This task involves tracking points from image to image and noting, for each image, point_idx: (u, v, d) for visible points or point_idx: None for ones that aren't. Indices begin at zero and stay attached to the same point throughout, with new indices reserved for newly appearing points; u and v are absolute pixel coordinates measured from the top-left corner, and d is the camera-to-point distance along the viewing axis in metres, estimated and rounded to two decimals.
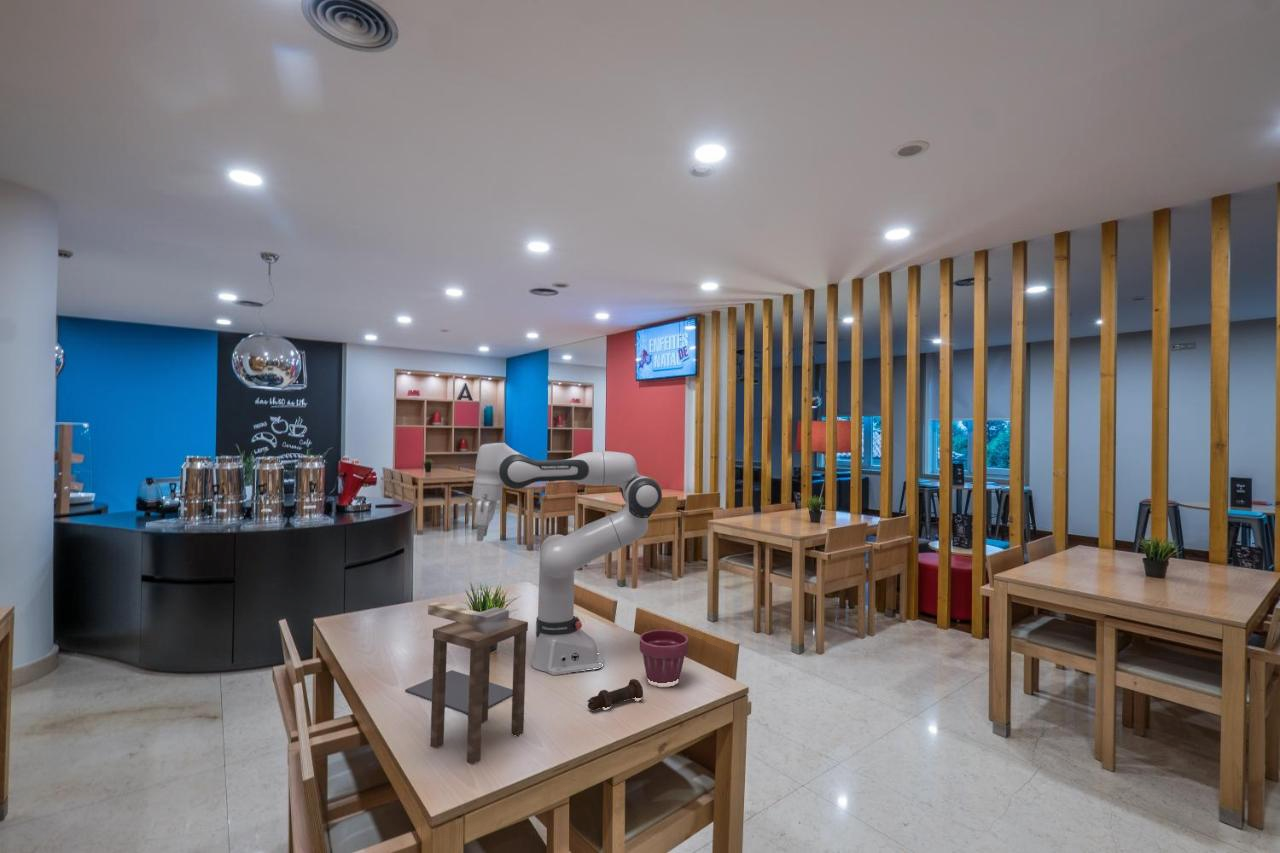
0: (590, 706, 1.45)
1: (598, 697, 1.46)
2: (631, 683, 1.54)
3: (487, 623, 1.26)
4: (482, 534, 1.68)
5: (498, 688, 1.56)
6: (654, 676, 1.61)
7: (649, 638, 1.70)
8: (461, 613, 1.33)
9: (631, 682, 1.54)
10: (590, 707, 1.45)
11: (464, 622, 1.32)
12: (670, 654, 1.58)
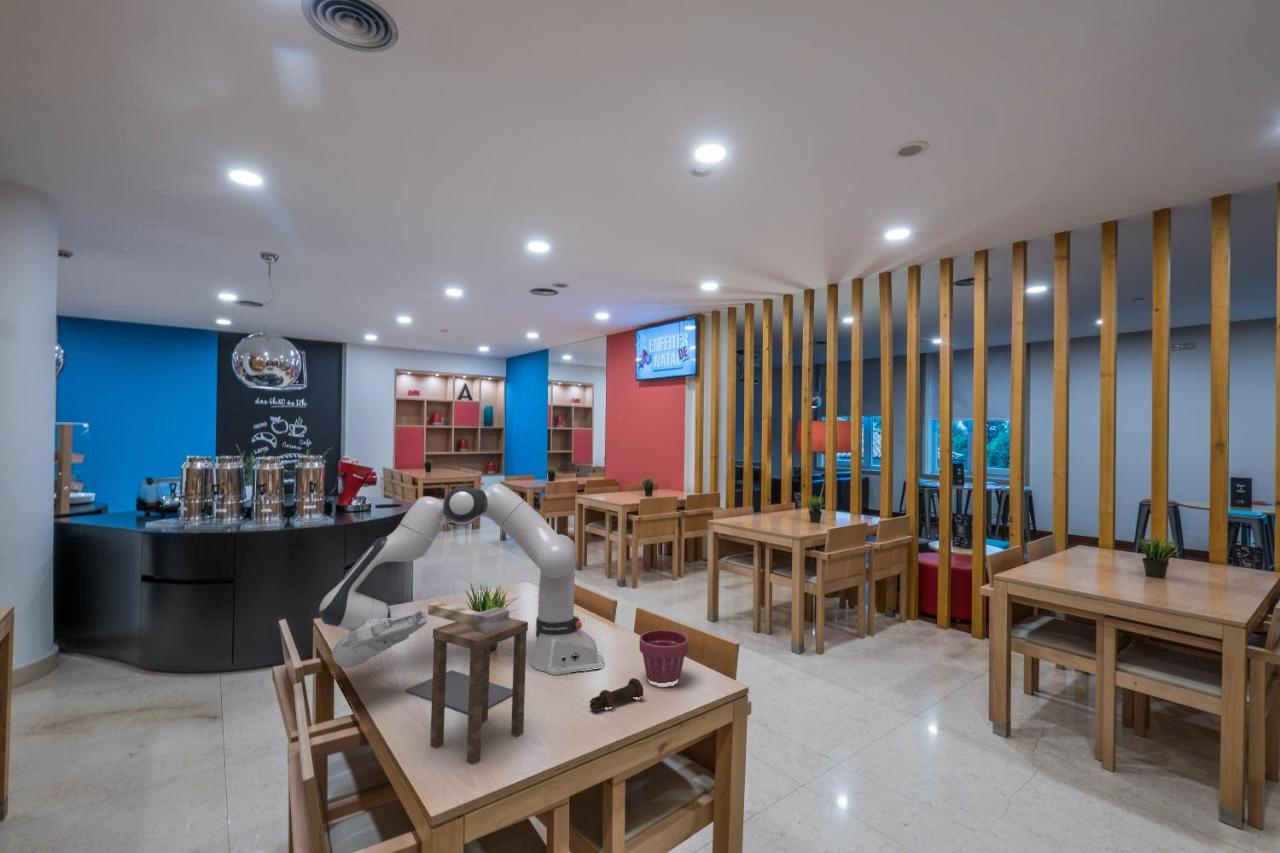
0: (592, 706, 1.45)
1: (600, 697, 1.46)
2: (631, 682, 1.54)
3: (487, 623, 1.26)
4: (380, 624, 1.41)
5: (498, 688, 1.56)
6: (654, 676, 1.61)
7: (649, 638, 1.70)
8: (461, 613, 1.33)
9: (631, 681, 1.54)
10: (592, 708, 1.45)
11: (464, 622, 1.32)
12: (670, 654, 1.58)
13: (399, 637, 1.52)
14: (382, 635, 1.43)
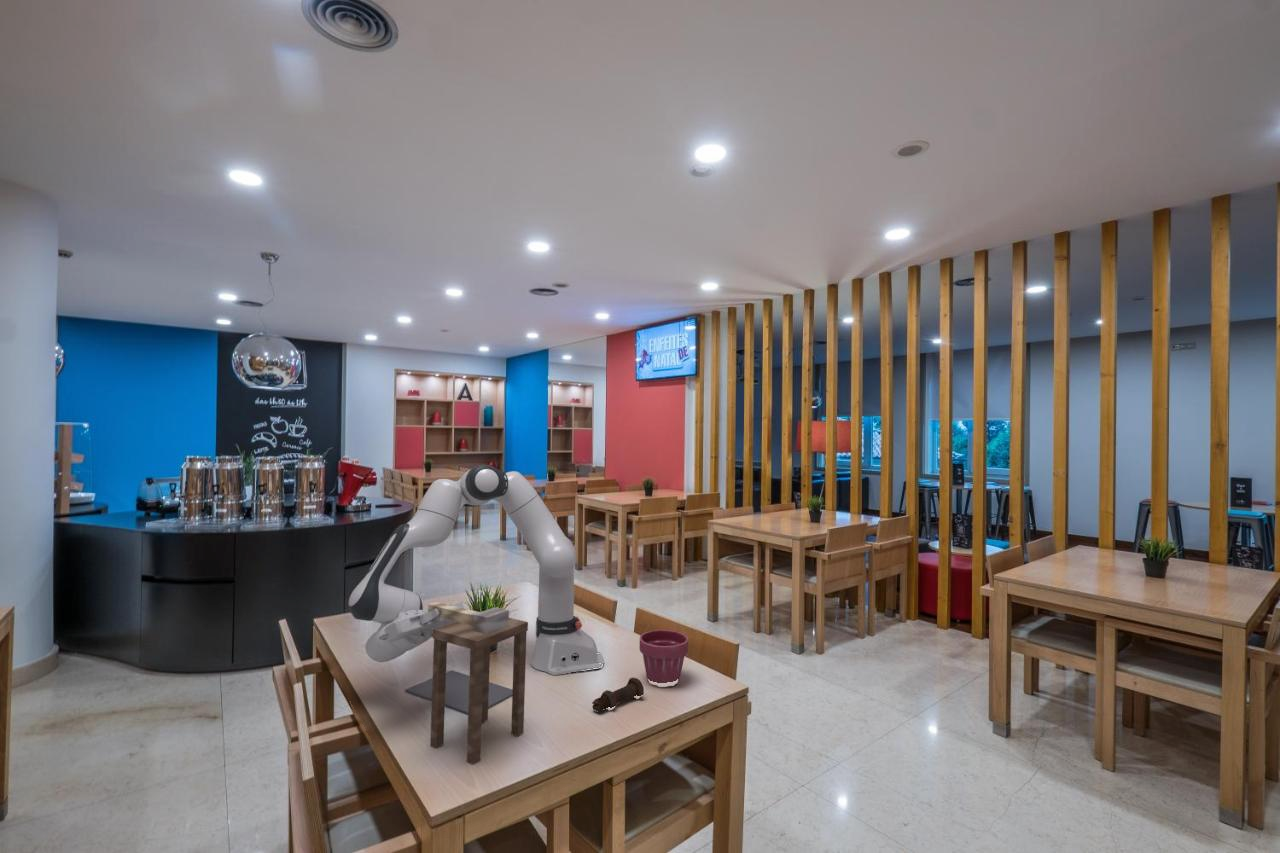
0: (596, 707, 1.44)
1: (603, 698, 1.46)
2: (631, 682, 1.54)
3: (487, 623, 1.26)
4: (429, 613, 1.36)
5: (498, 688, 1.56)
6: (654, 676, 1.61)
7: (649, 638, 1.70)
8: (461, 613, 1.33)
9: (631, 681, 1.54)
10: (596, 709, 1.44)
11: (464, 622, 1.32)
12: (670, 654, 1.58)
13: None
14: (421, 627, 1.36)
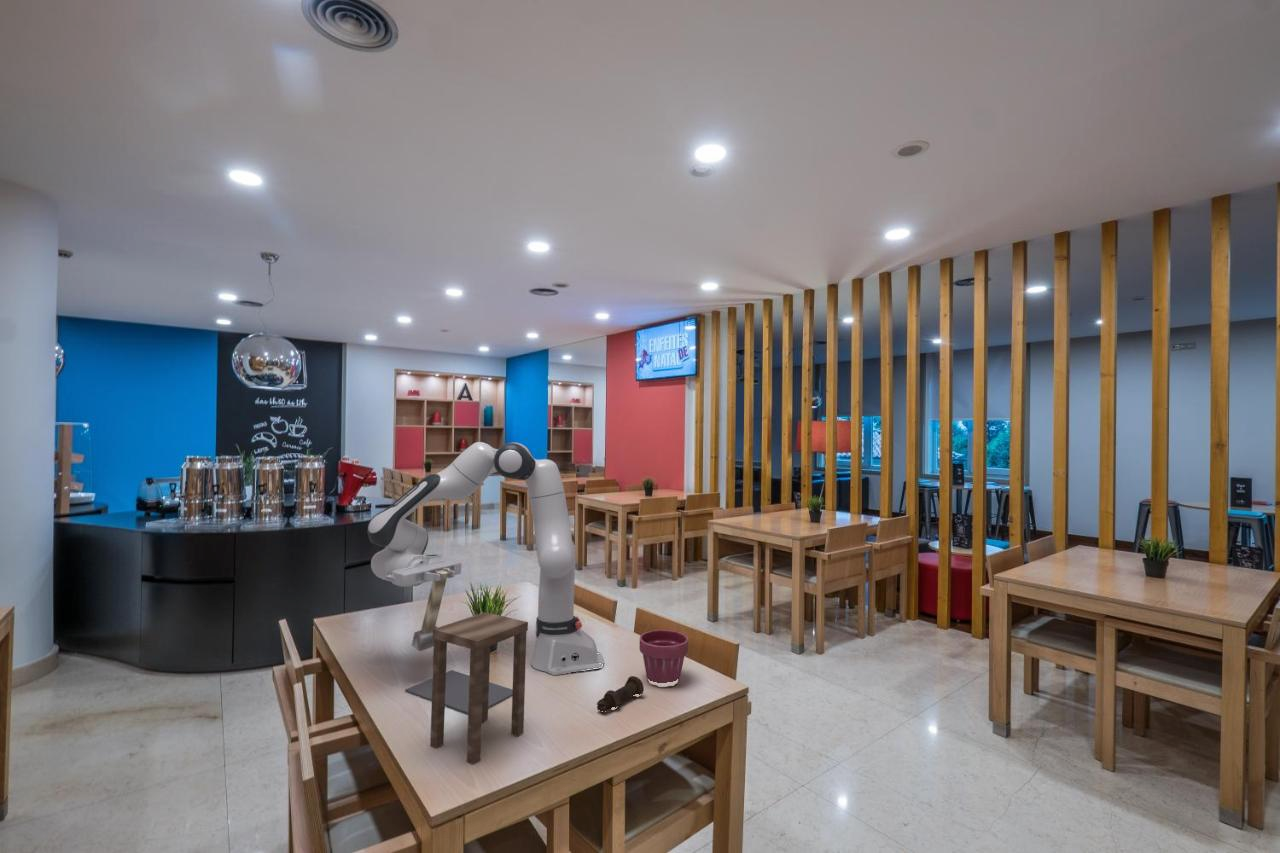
0: (601, 708, 1.44)
1: (607, 698, 1.46)
2: (630, 680, 1.55)
3: None
4: (432, 574, 1.56)
5: (498, 688, 1.56)
6: (654, 676, 1.61)
7: (649, 638, 1.70)
8: (431, 613, 1.59)
9: (630, 679, 1.55)
10: (601, 709, 1.44)
11: (425, 613, 1.60)
12: (670, 654, 1.58)
13: None
14: (422, 582, 1.57)
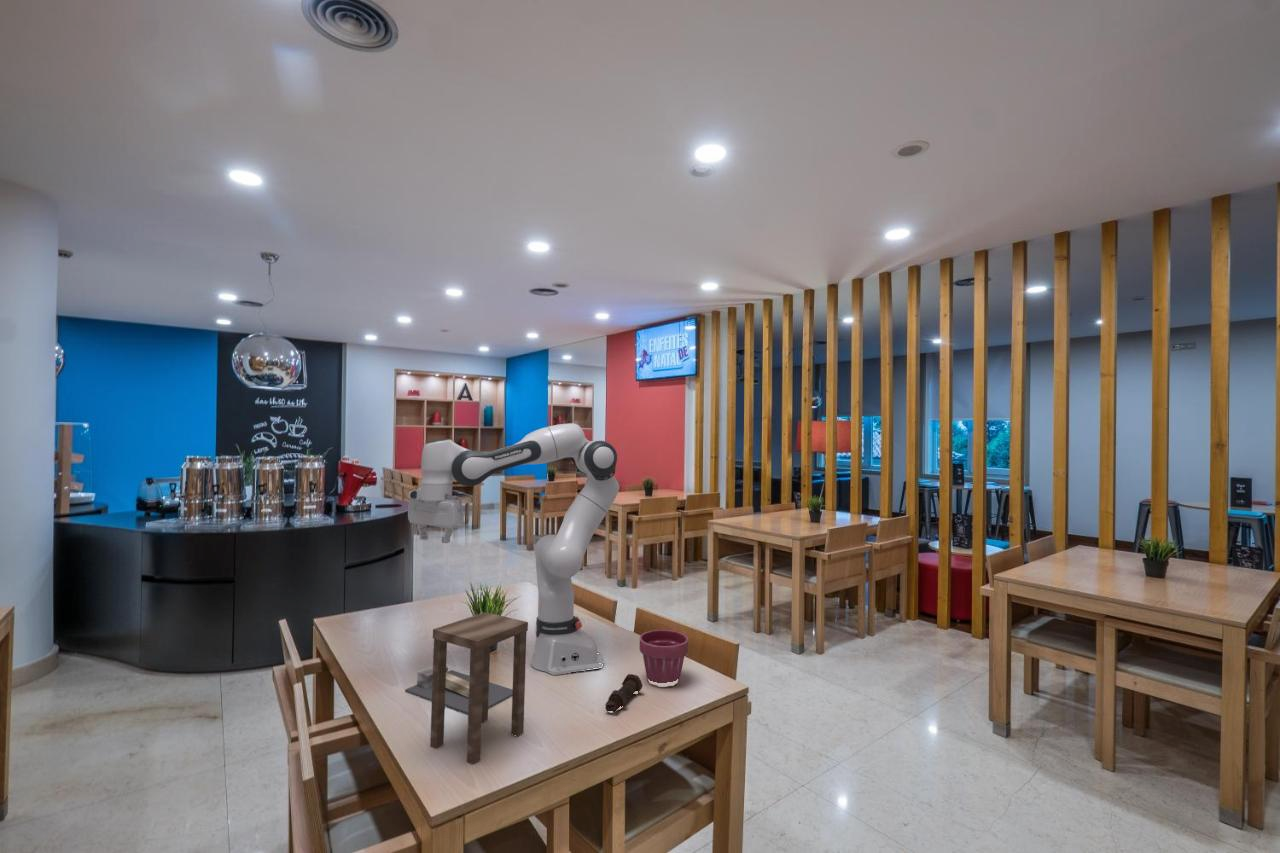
0: (611, 708, 1.44)
1: (615, 698, 1.46)
2: (628, 678, 1.56)
3: None
4: (450, 535, 1.64)
5: (498, 688, 1.56)
6: (654, 676, 1.61)
7: (649, 638, 1.70)
8: (448, 688, 1.53)
9: (628, 677, 1.56)
10: (611, 710, 1.44)
11: (446, 680, 1.54)
12: (670, 654, 1.58)
13: (418, 503, 1.66)
14: (440, 526, 1.63)
